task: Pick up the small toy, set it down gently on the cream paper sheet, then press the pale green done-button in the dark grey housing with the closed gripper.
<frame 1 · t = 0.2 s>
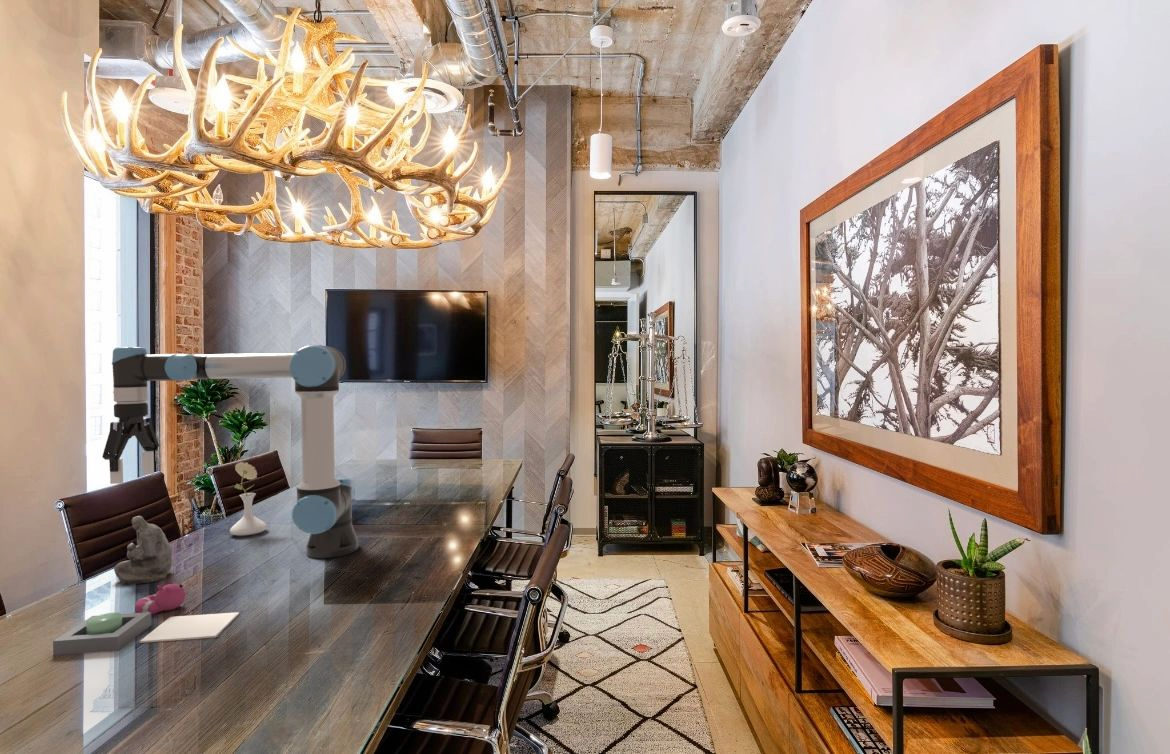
hand: (133, 478, 164), 28 cm above the table, fingers open, 13 cm apart
toy: (163, 608, 144), on the table
button housing: (105, 639, 128), on the table
flower in vase: (247, 533, 206), on the table
paper sheet: (192, 627, 133), on the table
done button: (104, 625, 127), point 3 cm above the table, slide at 0.0 cm
figurine: (142, 579, 163), on the table
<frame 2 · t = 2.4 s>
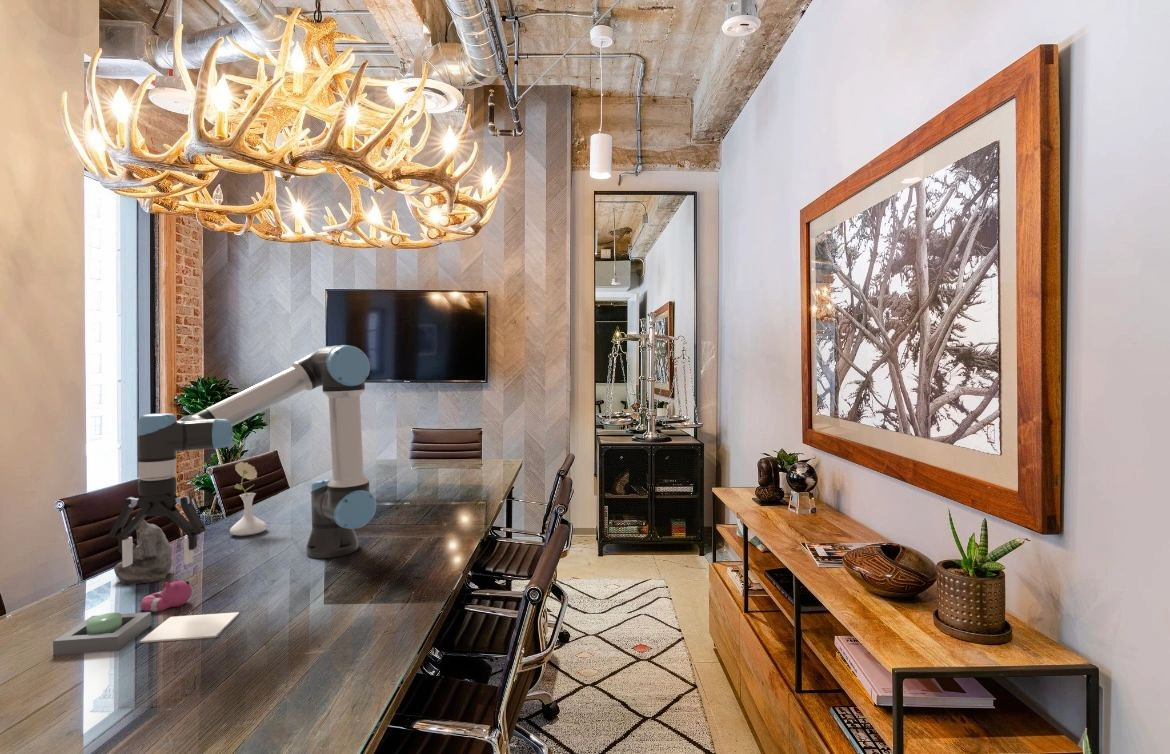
hand: (158, 564, 143), 11 cm above the table, fingers open, 13 cm apart
toy: (168, 605, 146), on the table
everything else where it was.
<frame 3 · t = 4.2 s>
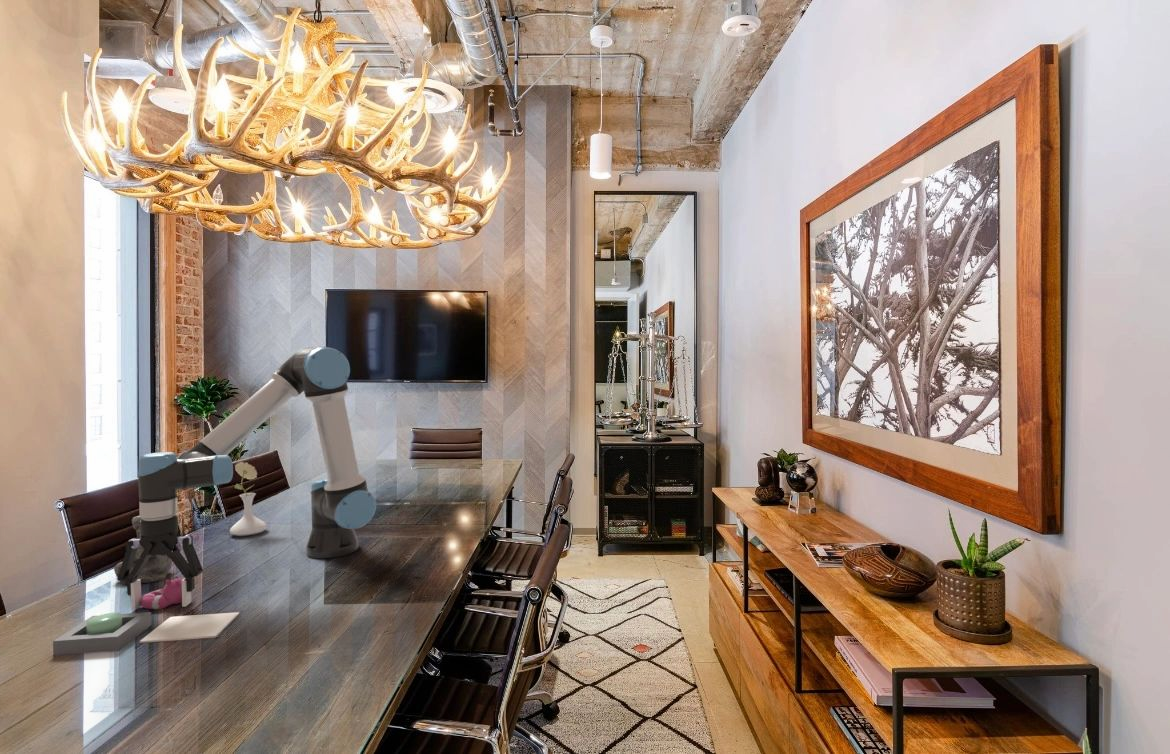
hand: (161, 606, 144), 0 cm above the table, fingers closed on toy, 10 cm apart
toy: (168, 602, 147), on the table, touching gripper
everything else where it was.
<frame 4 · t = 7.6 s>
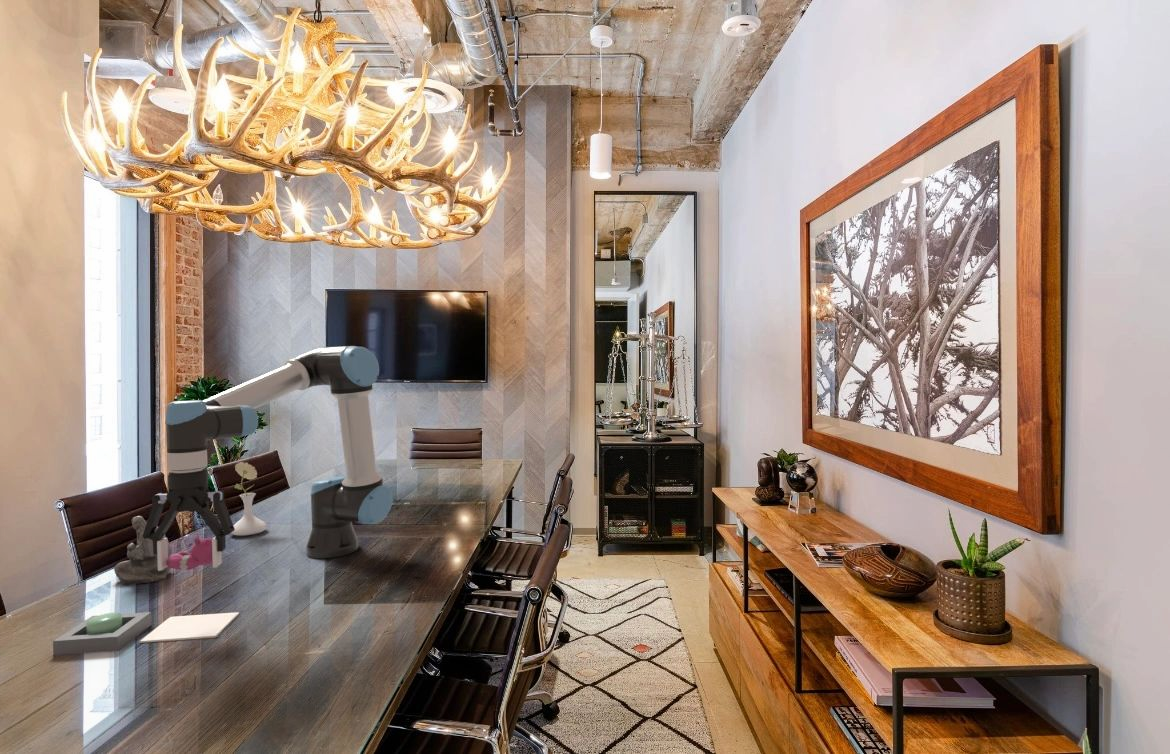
hand: (190, 566, 132), 14 cm above the table, fingers closed on toy, 10 cm apart
toy: (197, 564, 136), point 13 cm above the table, touching gripper
everything else where it was.
when the fingers open (1 cm above the table, at t = 11.4 s): toy stays where it is, resting on paper sheet.
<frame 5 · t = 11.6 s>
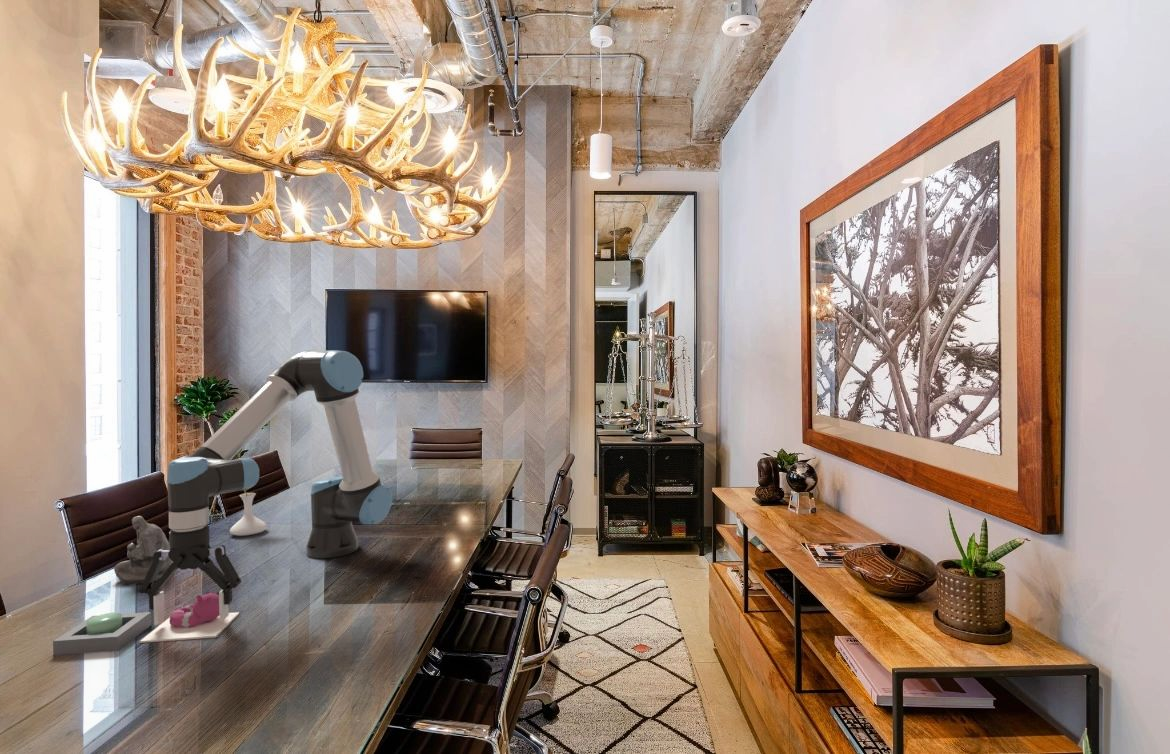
hand: (192, 620, 133), 2 cm above the table, fingers open, 13 cm apart
toy: (199, 620, 136), resting on paper sheet
everything else where it was.
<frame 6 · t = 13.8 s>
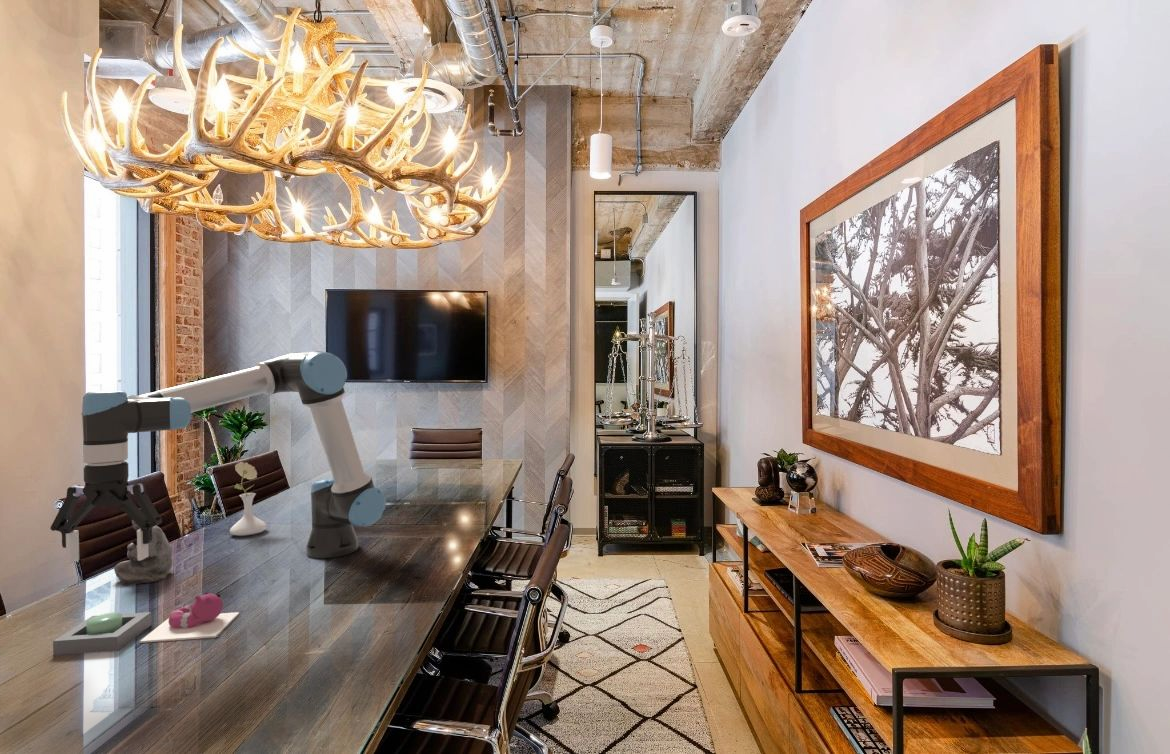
hand: (108, 560, 127), 17 cm above the table, fingers open, 13 cm apart
nothing on the table moved.
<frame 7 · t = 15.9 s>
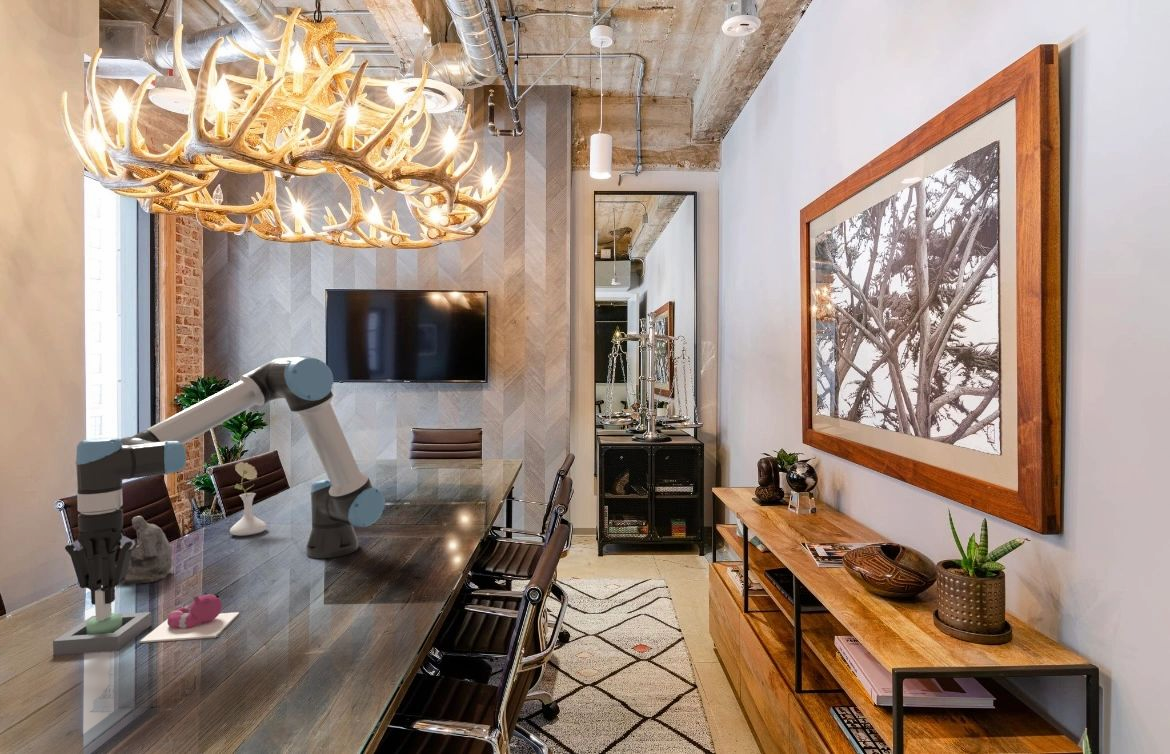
hand: (103, 618, 127), 5 cm above the table, fingers closed
done button: (104, 625, 127), point 3 cm above the table, slide at 0.1 cm, touching gripper
everything else where it was.
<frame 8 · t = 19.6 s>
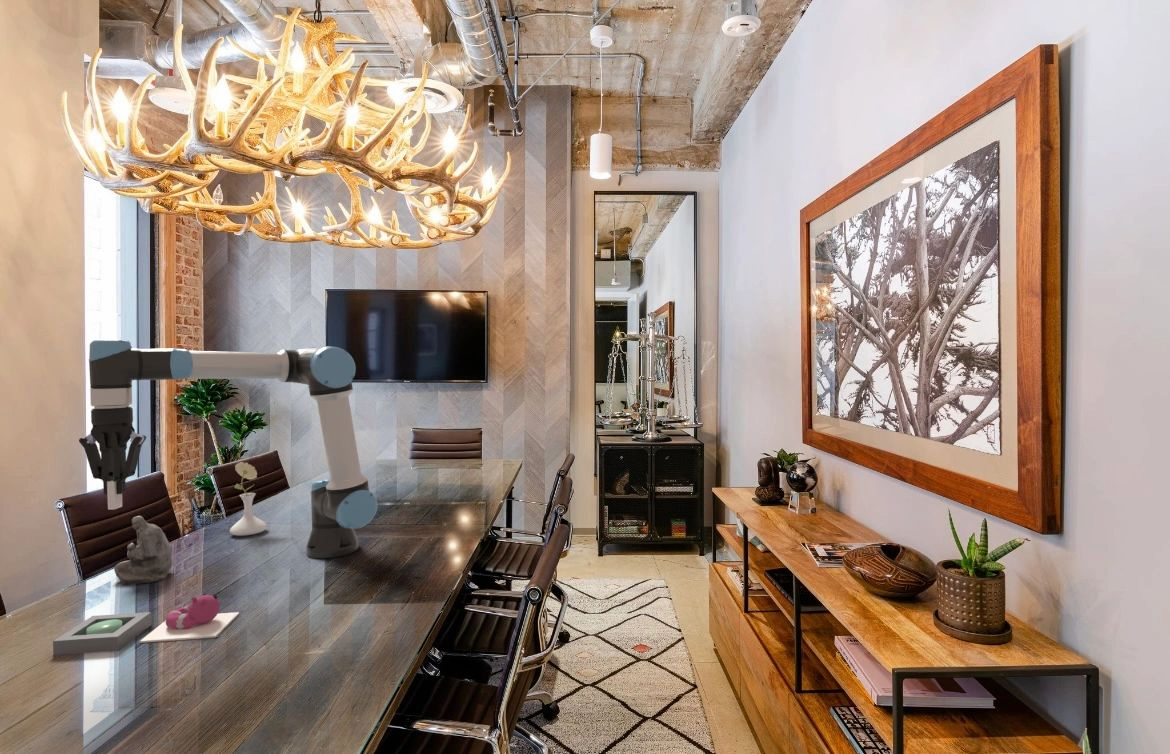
hand: (115, 508, 136), 26 cm above the table, fingers closed
done button: (104, 632, 128), point 2 cm above the table, slide at 1.6 cm
everything else where it was.
at the end: toy inside the target area on the paper sheet (2.8 cm from its centre), point 0.2 cm above the paper sheet's base; toy tilted 0°; done button slide at 1.6 cm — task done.
